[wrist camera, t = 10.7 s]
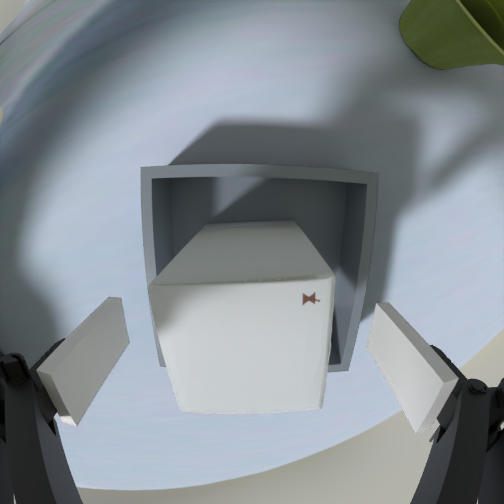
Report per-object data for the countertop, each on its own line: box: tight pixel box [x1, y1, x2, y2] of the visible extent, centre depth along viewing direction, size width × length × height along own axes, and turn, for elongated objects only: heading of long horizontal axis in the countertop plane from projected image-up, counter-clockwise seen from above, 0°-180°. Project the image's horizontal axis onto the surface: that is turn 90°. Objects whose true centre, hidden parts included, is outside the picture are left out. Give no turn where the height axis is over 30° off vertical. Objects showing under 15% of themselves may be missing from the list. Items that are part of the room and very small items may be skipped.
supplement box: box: [147, 220, 335, 414], centre depth 17 cm, size 7×7×13 cm
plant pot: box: [399, 0, 504, 69], centre depth 12 cm, size 12×12×11 cm
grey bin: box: [141, 164, 378, 372], centre depth 21 cm, size 16×16×5 cm
